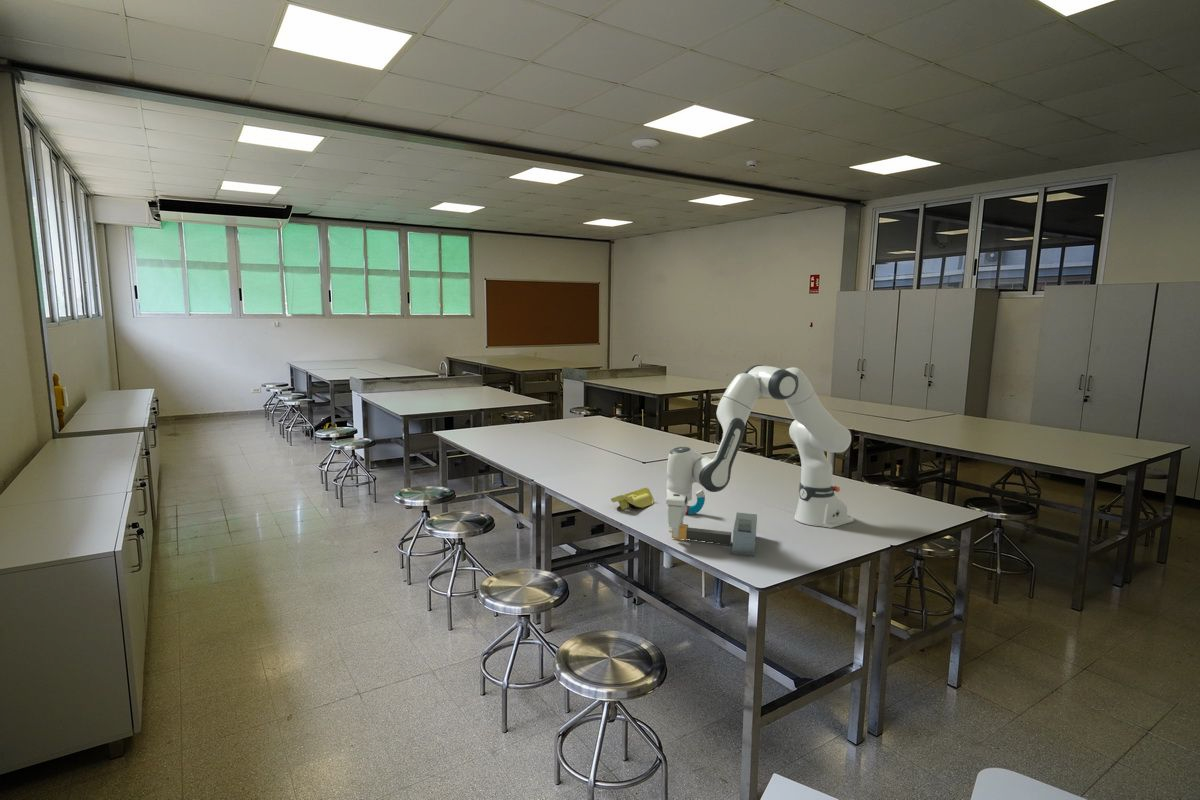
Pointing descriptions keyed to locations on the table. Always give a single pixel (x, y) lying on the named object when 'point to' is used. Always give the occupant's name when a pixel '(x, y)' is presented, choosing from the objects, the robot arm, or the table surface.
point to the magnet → (699, 504)
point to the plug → (703, 535)
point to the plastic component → (635, 499)
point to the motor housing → (744, 534)
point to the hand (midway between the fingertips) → (677, 532)
